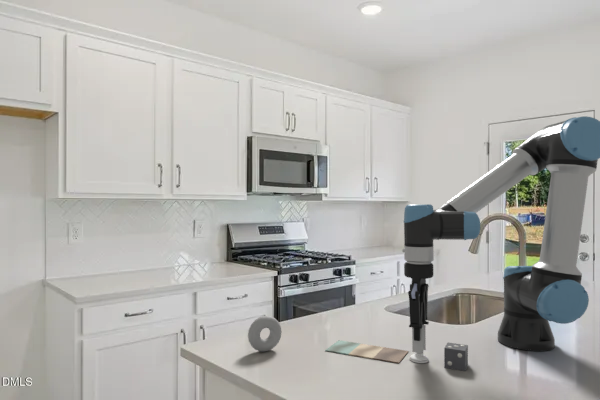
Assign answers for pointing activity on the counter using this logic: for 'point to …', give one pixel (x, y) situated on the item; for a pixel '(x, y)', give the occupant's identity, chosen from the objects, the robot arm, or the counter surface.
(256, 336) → the donut
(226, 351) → the counter surface
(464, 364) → the die
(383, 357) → the track
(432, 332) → the counter surface
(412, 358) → the chess piece
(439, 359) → the counter surface
